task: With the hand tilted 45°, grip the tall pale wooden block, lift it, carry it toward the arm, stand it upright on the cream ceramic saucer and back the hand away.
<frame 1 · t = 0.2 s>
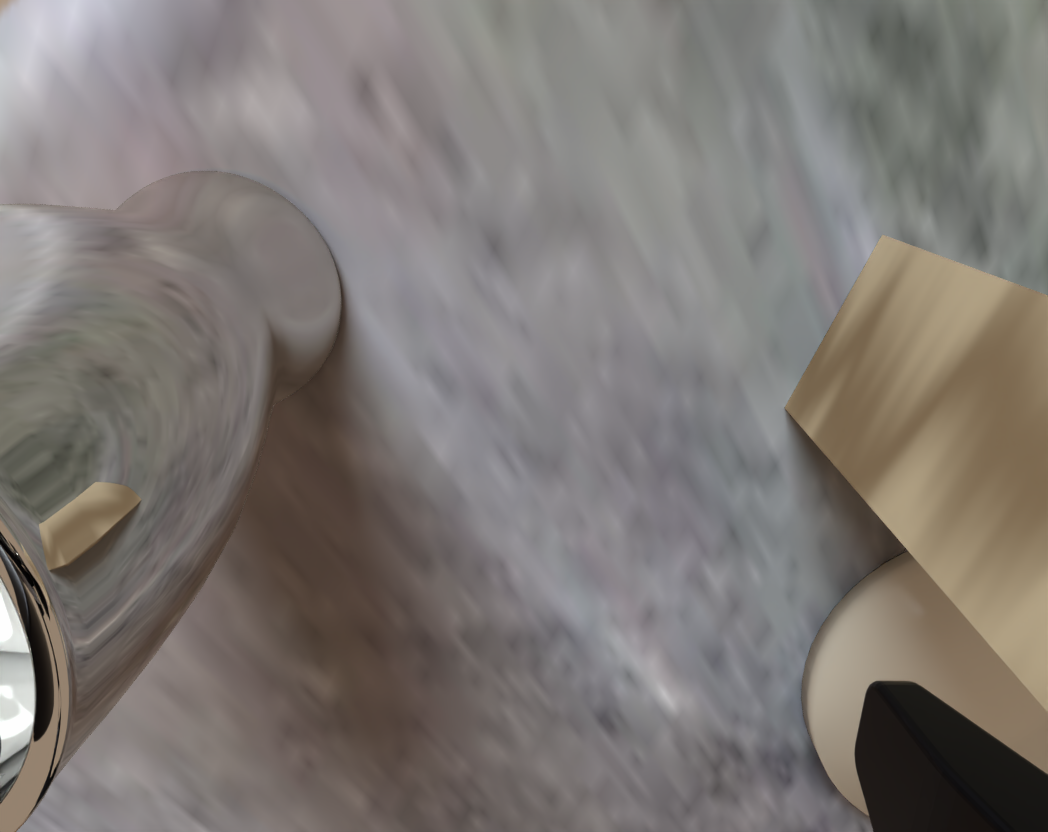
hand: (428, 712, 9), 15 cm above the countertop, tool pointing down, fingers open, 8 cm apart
wooden block: (914, 360, 23), on the countertop
saucer: (967, 678, 26), on the countertop
beer glass: (225, 291, 22), on the countertop, touching gripper
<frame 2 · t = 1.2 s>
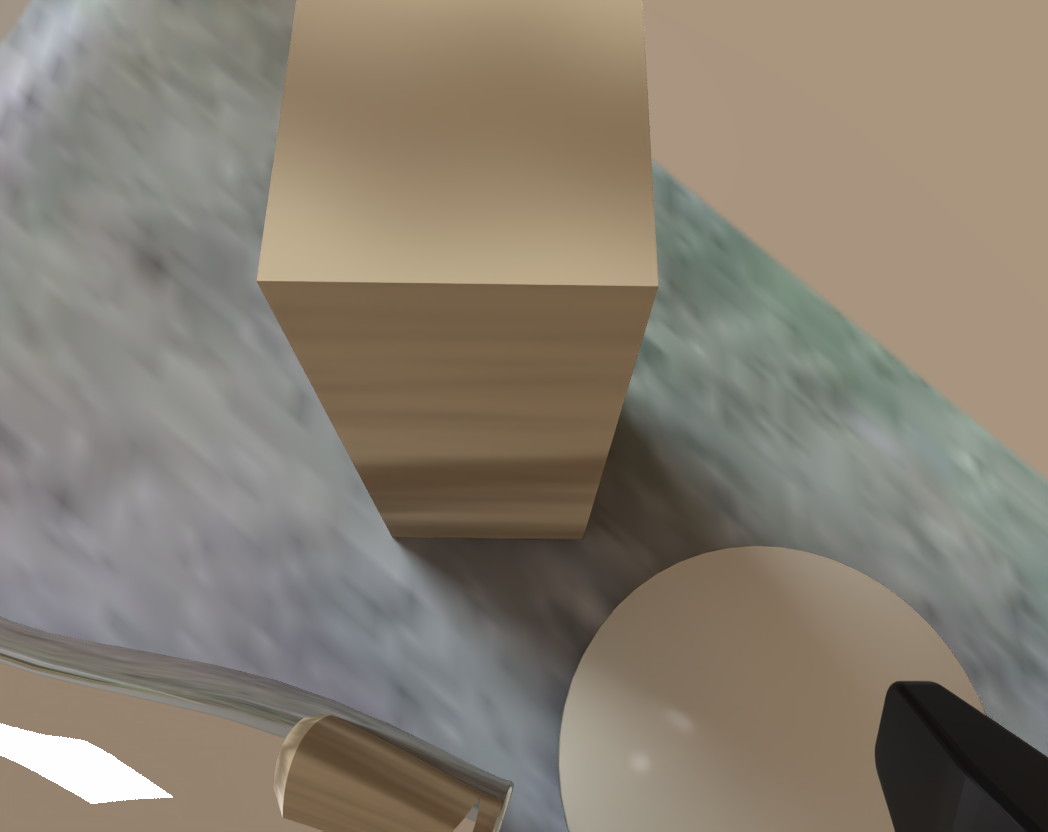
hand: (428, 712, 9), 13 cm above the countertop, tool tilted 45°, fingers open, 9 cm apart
wooden block: (489, 448, 24), on the countertop
saucer: (766, 762, 21), on the countertop
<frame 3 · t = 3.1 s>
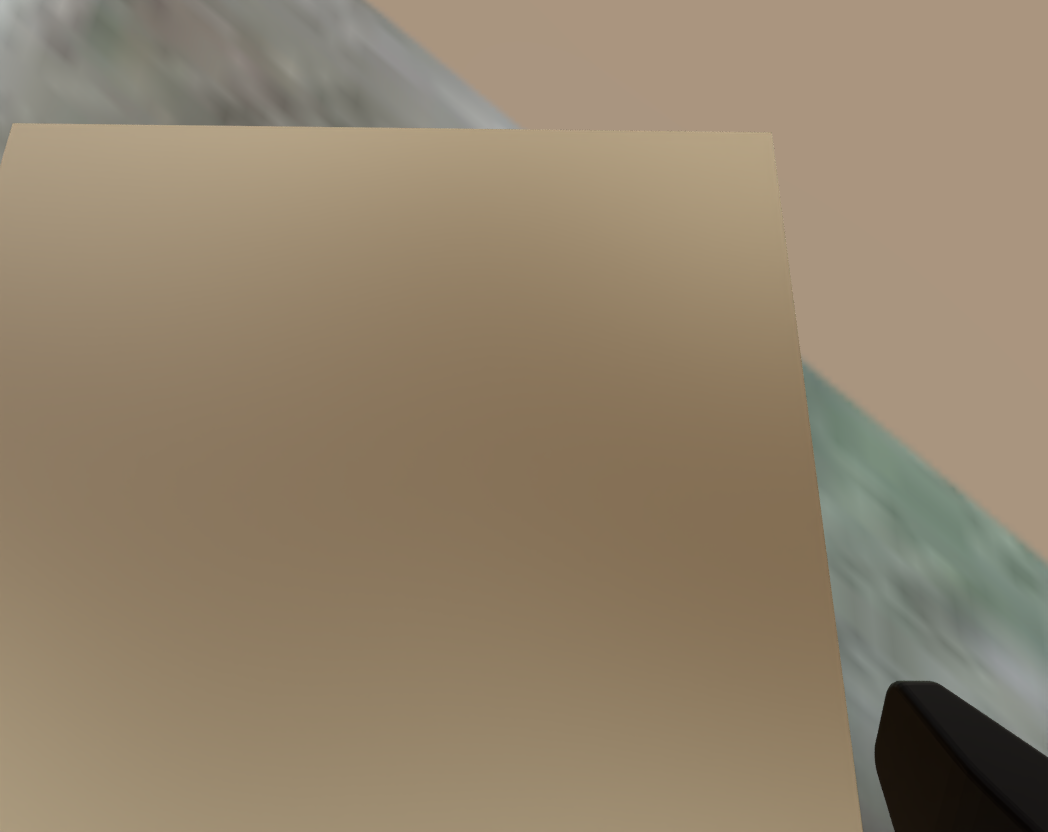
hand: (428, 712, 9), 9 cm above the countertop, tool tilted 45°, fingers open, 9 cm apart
wooden block: (471, 699, 17), on the countertop
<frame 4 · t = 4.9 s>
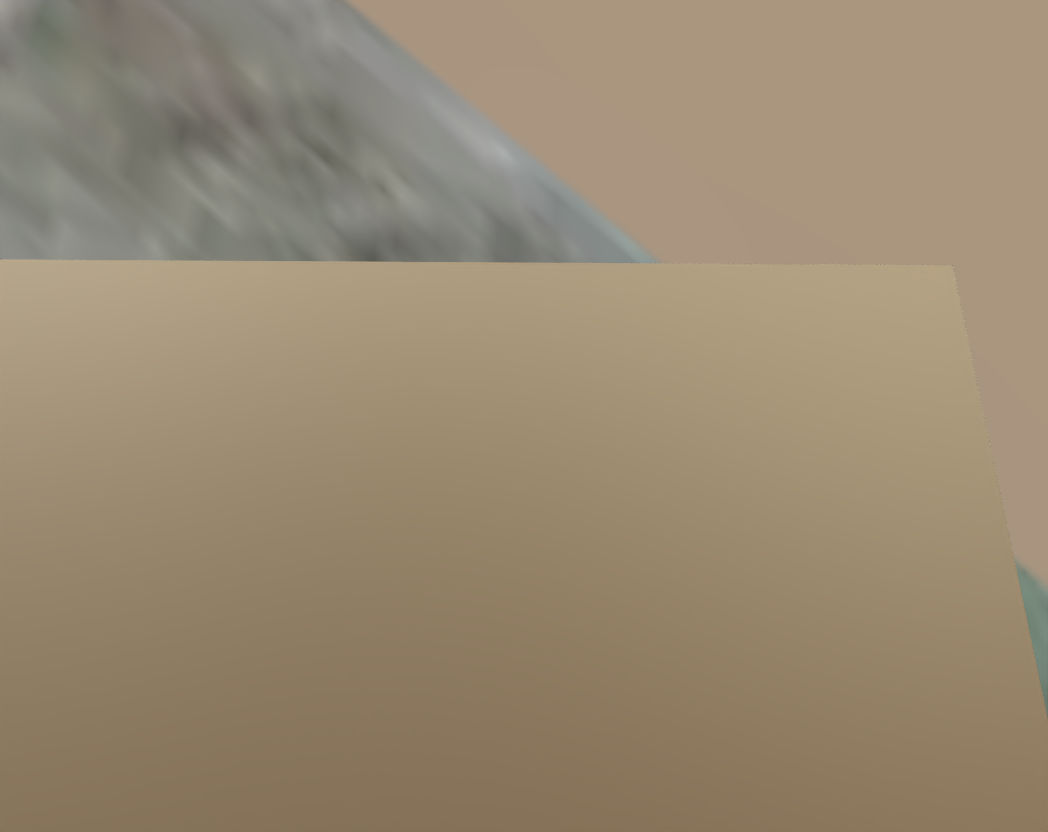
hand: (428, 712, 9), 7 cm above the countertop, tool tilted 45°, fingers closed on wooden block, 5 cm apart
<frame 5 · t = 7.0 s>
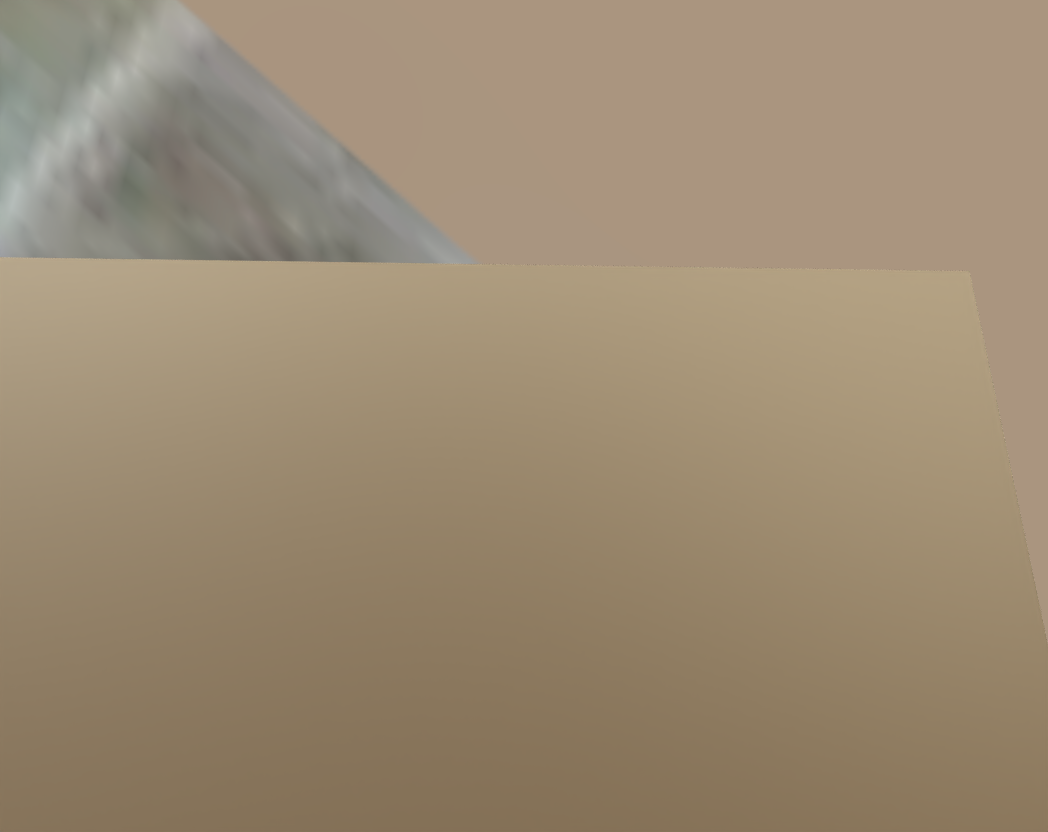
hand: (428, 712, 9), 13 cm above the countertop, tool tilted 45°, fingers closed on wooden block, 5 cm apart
wooden block: (463, 829, 14), point 7 cm above the countertop, touching gripper
when the fingers open (9 cm above the countertop, at t = 9.6 s): wooden block drops 1 cm, resting on saucer.
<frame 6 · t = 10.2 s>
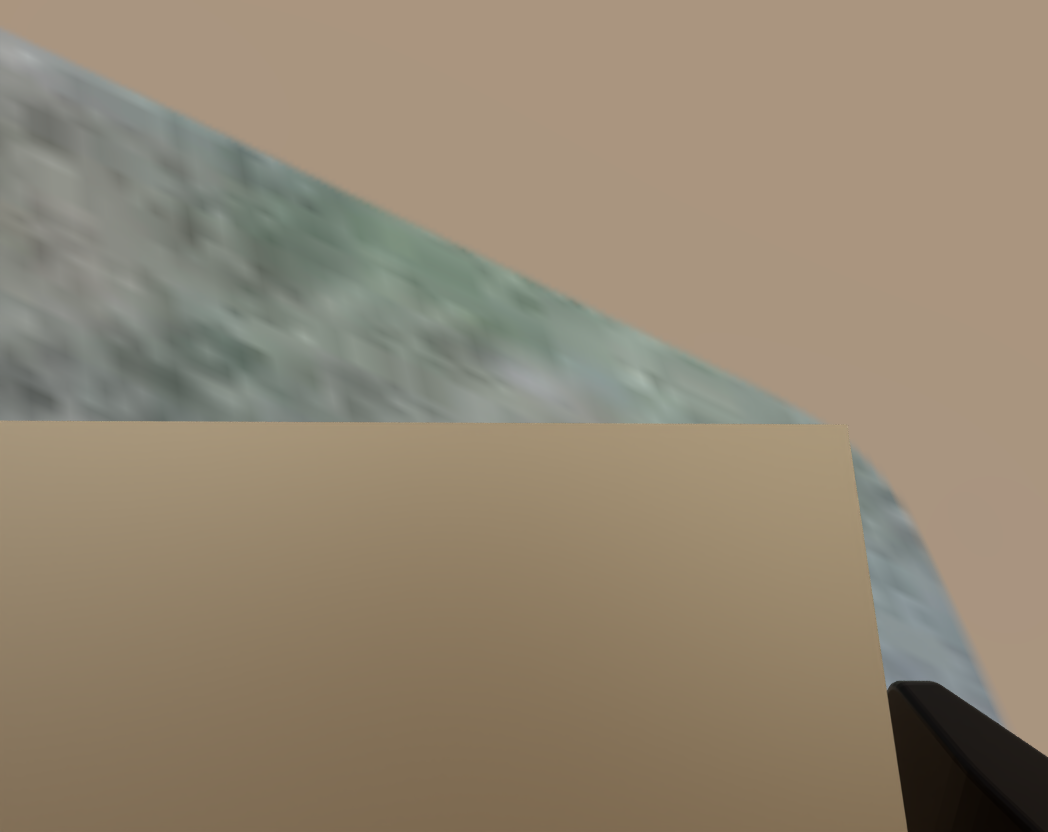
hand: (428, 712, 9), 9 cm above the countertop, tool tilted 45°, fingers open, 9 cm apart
wooden block: (466, 827, 15), point 1 cm above the countertop, touching saucer
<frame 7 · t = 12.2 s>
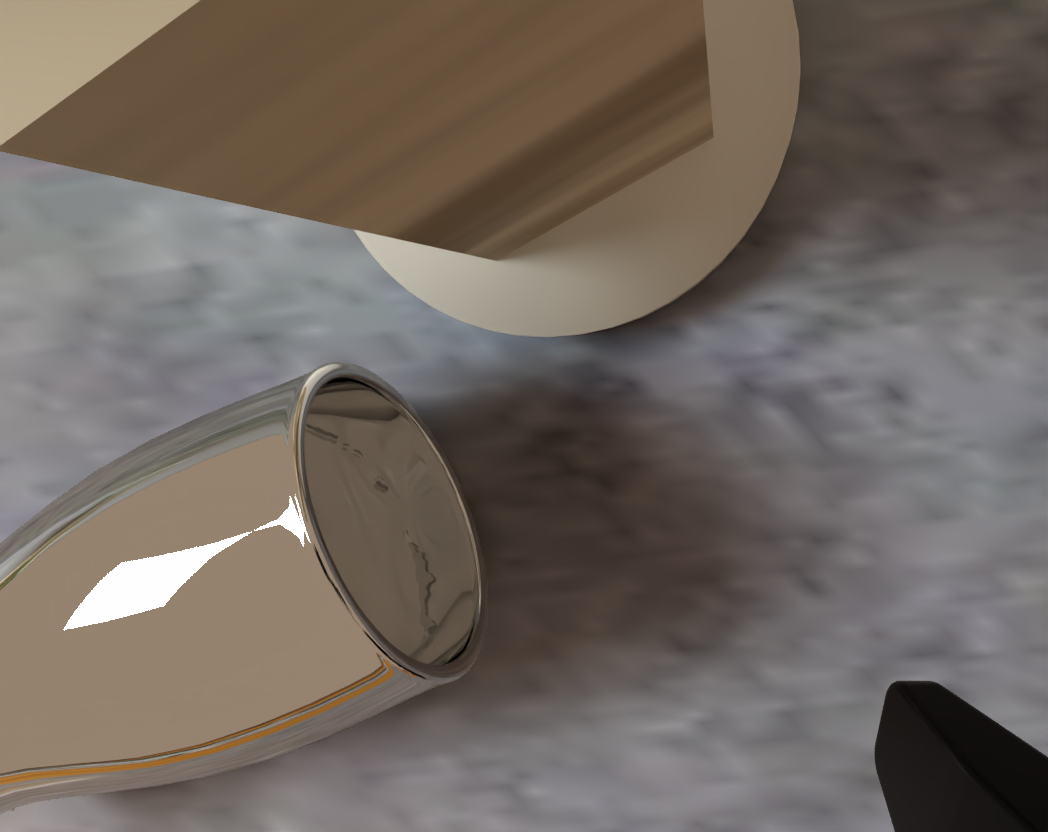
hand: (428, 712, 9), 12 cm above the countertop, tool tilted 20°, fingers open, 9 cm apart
wooden block: (544, 91, 18), point 1 cm above the countertop, touching saucer
saucer: (554, 103, 19), on the countertop
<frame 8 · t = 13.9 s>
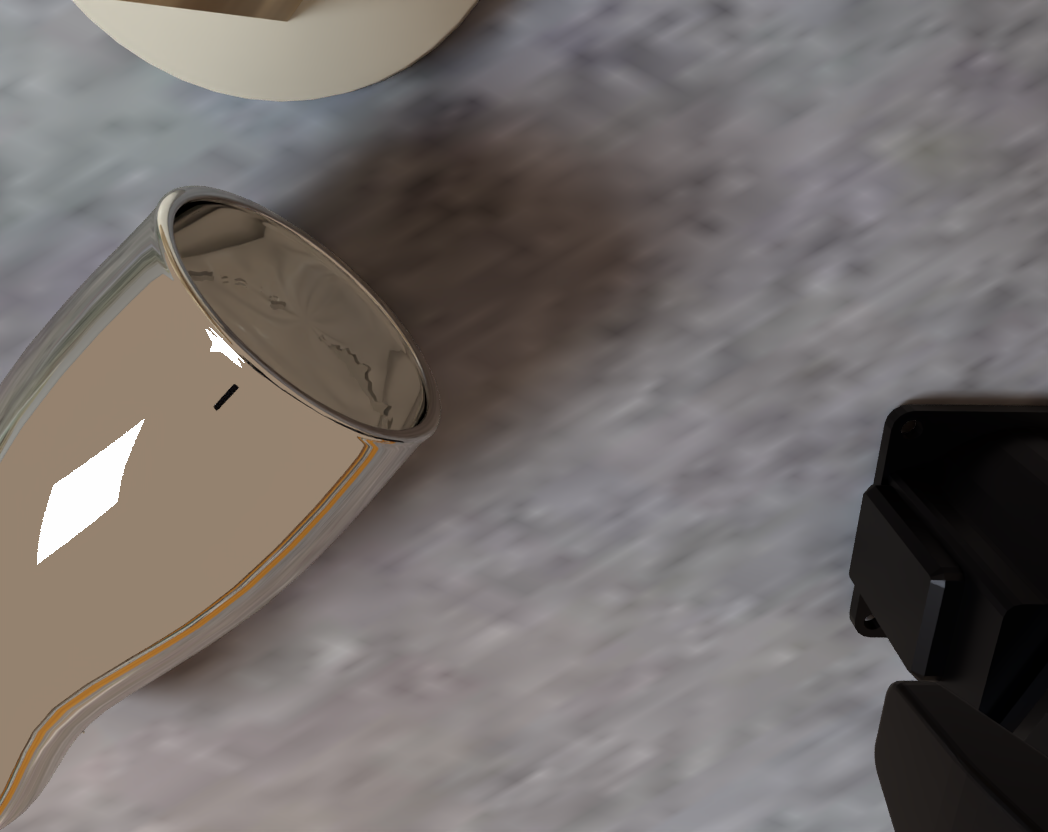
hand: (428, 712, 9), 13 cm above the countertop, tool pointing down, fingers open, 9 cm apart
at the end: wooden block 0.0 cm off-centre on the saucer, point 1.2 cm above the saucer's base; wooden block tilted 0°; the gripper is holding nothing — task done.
